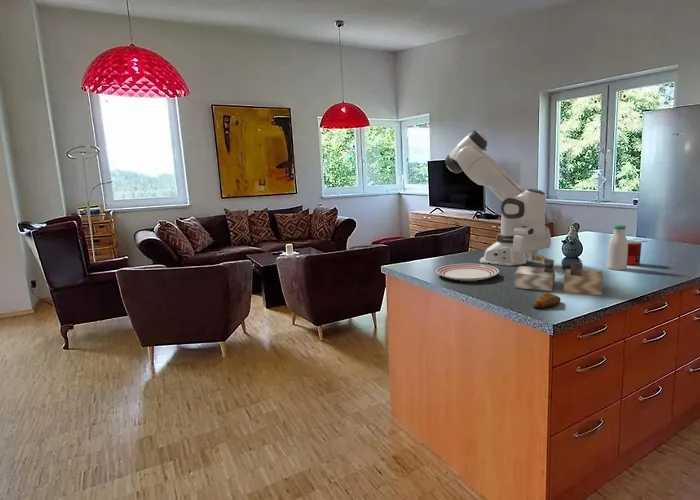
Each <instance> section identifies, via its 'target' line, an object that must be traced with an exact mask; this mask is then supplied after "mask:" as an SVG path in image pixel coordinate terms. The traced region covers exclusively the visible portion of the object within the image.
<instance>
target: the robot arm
mask: <svg viewBox="0 0 700 500" xmlns="http://www.w3.org/2000/svg"><path fill="white" fill-rule="evenodd" d="M487 147H488V141H487V138H486V136H485V135H484V133H482V132H480V131H477V130H472V131H470V132H468V133H467V135H466V136H465V137H463V138H462V139H461V140H460V141H459V142H458V143H457V145H456V146H454V148H453V149H452V150H451V151H450V152H449V154H448V155H447V156H446V157H445V159H444V164H445V166H446V168H447V169H448V170H449V171H450V172H452V173H454V174H460V173H462V172H464V174H465V175H466V176H467V177H468V179H469V180H470V181H472V182H473V183H475V184H476V185H478V186H485V187H486V188H487V189H489V190H490V191H491V192H492V193H493V195H495V197H497V198H498V199H499V200H500V201H501V205H500V213H501V215H500V216H501V218H500V233H498V234H497V235H496V238H495V239H496V241H495V242H494V243H492V244H491V245H489V246H488V247H487V248H486V249H485V252H484V256H482V257H480V258H479V262H480V264H481V263H482V264H488V263H490V264H491V265H497V264H498V265H499V266H508V267H509V266H510V267H512V266H516V265H517V266H521V265H524V264H527V261H528V262H532V261H536V255H537V254H539V251H540V250H543V249H550V248H551V245H552V243H551V241H552V238H551V237H552V234H551V232H550V228H549V227H548V226H546V219H545V215H546V211H547V198H546V194H545V192H544V191H542V190H541V189H533V188H528V189H525V188H524V187H523V186H521V185H519V184H518V183H517V182H516V181H515V180H514V179H513V178H512V177H511V176H510V175H509V174H508V173H507V171H506V170H505V169H503V168H502V166H500V165H499V164H498V163H497V162H496V161H495V160H494V159H493V158H492V157H491V156H490V155H489V154H487V153H486V151H487ZM525 253H526V254H525ZM526 255H527V258H526ZM490 264H489V265H490Z"/></svg>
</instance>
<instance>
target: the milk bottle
mask: <svg viewBox="0 0 700 500" xmlns="http://www.w3.org/2000/svg"><path fill="white" fill-rule="evenodd" d="M626 227H627V226H626V225H625V224H615V225H613V234H612V235H611V237H610V239H609V243H608V247H607V249H608V250H607V261H606V262H607V263H606V266H607V267H606V268H607V269H609V270H614V271H615V270H616V271H624V270H625V271H626V269H627V267H628V265H627V255H628V241H627V240H628V239H627V236H626V233H625V231H626Z"/></svg>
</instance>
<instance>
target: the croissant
mask: <svg viewBox="0 0 700 500" xmlns="http://www.w3.org/2000/svg"><path fill="white" fill-rule="evenodd" d="M560 302H561V297H560V296H558V295H556V294H553V293H551V292H544V293H541V294H540V295H538V297H537V298H536V299H535V300H534V302H533V305H532V307H533V308H534V309H545V308H551V307H555V306H557V305H558V304H560Z"/></svg>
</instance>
